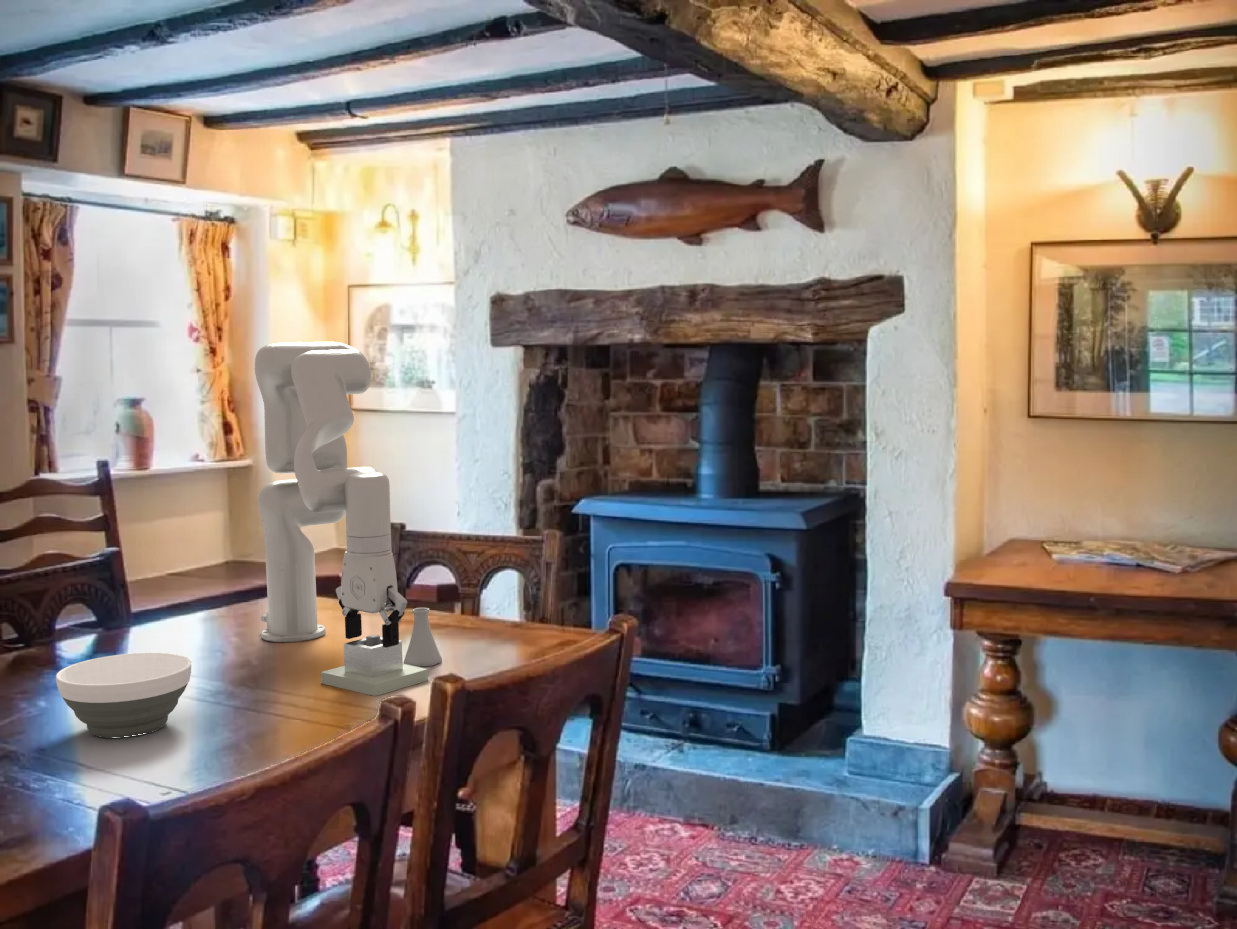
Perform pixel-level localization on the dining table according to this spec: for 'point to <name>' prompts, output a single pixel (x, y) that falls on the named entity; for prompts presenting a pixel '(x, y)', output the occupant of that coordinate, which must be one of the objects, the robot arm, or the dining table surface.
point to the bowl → (124, 691)
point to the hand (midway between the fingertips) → (372, 641)
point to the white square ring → (372, 658)
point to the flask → (422, 642)
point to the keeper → (375, 684)
